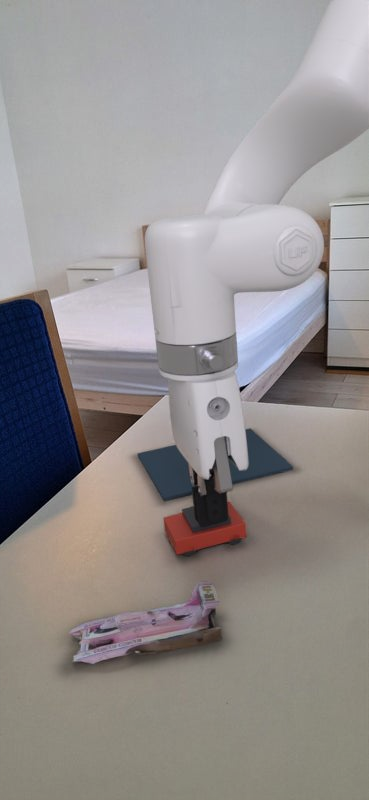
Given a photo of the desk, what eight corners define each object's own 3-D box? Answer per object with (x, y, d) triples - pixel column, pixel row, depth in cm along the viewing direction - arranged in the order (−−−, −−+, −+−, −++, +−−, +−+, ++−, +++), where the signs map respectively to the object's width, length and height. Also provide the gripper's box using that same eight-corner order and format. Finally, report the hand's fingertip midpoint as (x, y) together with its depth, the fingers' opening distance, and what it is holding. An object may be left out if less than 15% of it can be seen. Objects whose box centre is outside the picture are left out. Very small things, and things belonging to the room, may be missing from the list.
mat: (250, 431, 92) (250, 428, 92) (293, 469, 80) (292, 466, 79) (137, 456, 88) (137, 453, 87) (163, 501, 75) (163, 497, 75)
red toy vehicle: (247, 541, 65) (230, 518, 70) (245, 516, 64) (229, 494, 69) (177, 559, 64) (165, 535, 68) (174, 534, 62) (162, 510, 67)
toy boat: (70, 678, 50) (62, 640, 48) (73, 630, 55) (66, 594, 53) (225, 651, 51) (222, 613, 49) (214, 607, 56) (210, 571, 55)
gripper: (268, 367, 50) (276, 550, 57) (207, 329, 64) (219, 481, 70) (184, 384, 48) (202, 571, 55) (139, 341, 62) (158, 496, 68)
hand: (211, 520), depth 63 cm, fingers closed
